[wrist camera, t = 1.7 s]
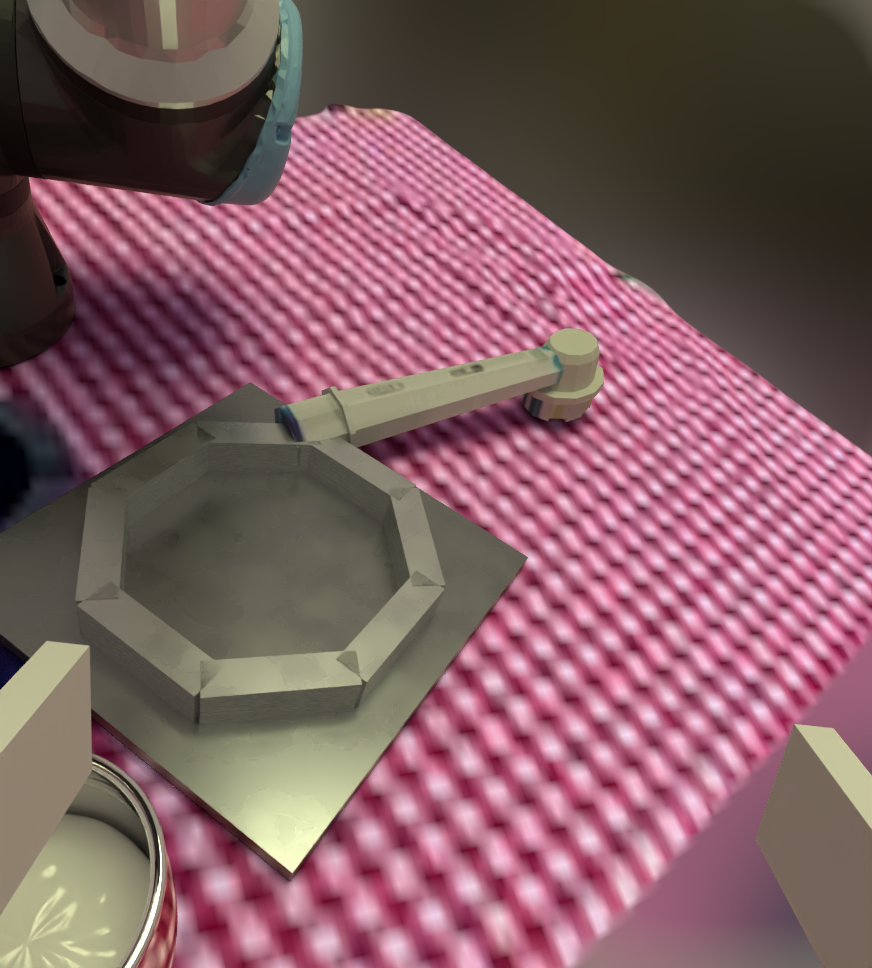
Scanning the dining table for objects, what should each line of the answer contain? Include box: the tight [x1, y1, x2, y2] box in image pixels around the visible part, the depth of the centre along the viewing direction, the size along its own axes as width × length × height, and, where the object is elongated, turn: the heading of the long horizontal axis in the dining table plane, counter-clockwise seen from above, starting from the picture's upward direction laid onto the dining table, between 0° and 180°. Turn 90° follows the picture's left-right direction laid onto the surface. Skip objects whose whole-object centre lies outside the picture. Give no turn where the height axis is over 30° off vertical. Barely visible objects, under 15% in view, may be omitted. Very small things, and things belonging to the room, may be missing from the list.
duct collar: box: [0, 383, 528, 881], centre depth 40 cm, size 22×22×3 cm
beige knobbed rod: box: [274, 328, 604, 466], centre depth 51 cm, size 5×7×25 cm
